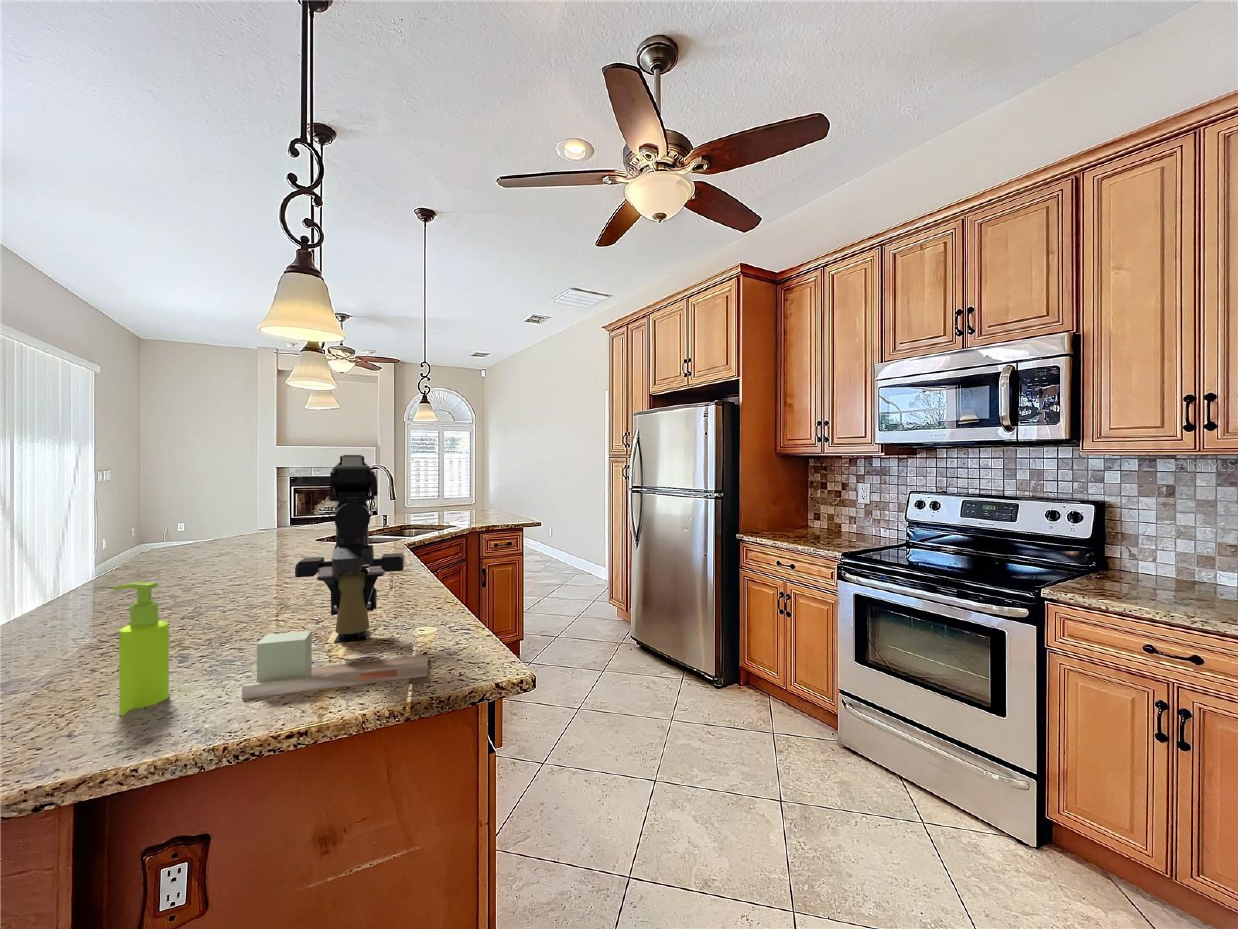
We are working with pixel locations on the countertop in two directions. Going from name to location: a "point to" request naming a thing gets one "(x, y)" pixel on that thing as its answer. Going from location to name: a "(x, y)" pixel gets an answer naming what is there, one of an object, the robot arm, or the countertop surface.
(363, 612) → the cork
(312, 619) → the countertop surface
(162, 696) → the soap dispenser
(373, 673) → the shelf board
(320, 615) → the countertop surface
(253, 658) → the countertop surface
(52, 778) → the countertop surface
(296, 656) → the sage tin
